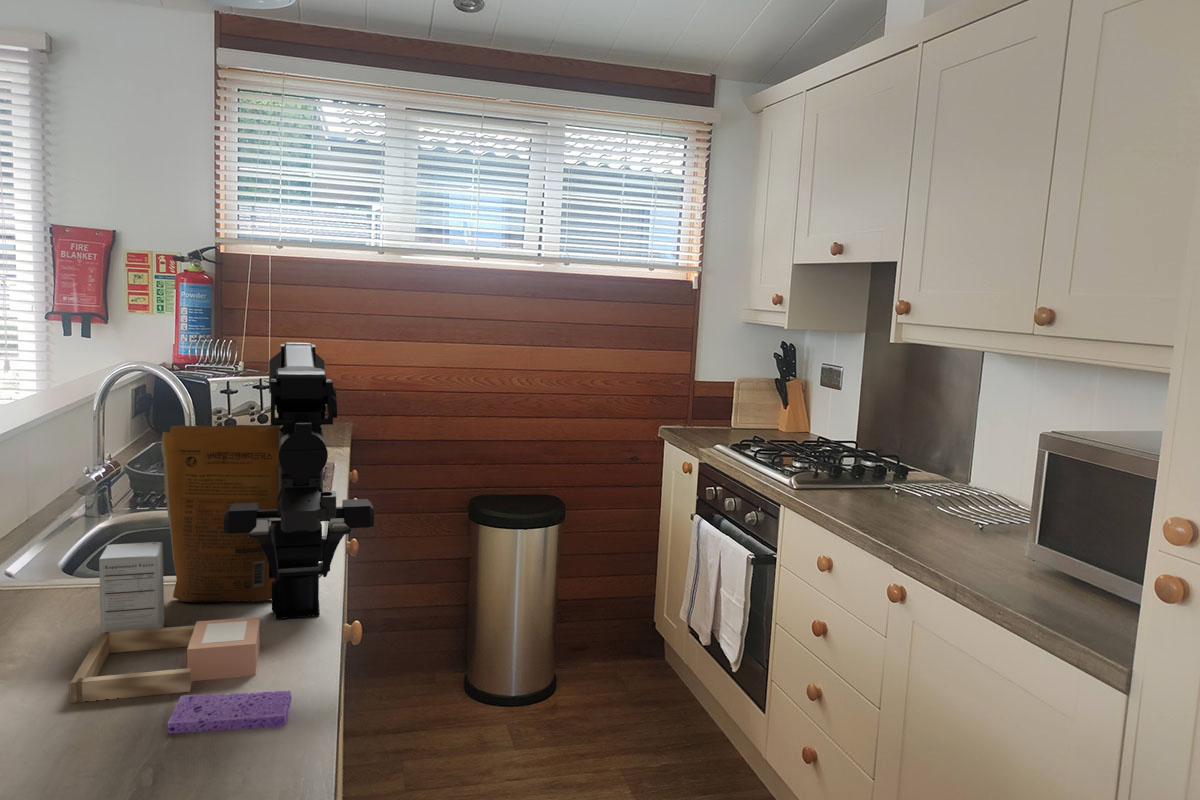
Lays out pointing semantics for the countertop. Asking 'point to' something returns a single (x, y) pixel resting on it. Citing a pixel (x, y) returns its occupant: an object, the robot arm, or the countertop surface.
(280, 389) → the robot arm
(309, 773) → the countertop surface
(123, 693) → the u-shaped wooden frame
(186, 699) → the sponges
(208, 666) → the carton
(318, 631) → the countertop surface
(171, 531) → the pancake mix bag
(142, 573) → the supplement box
